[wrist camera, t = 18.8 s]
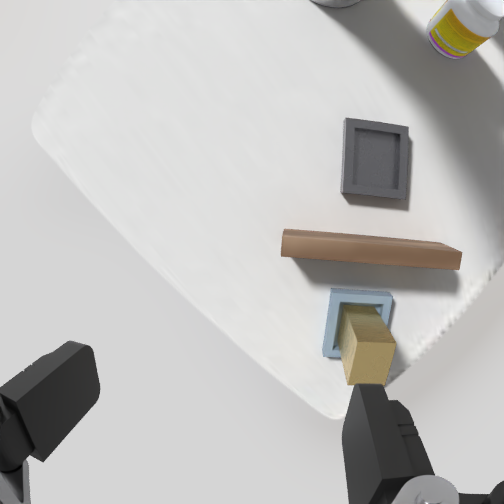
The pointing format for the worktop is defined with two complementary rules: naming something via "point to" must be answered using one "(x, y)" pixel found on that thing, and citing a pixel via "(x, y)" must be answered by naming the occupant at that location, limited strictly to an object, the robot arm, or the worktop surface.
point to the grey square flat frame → (374, 158)
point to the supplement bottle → (464, 25)
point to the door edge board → (368, 249)
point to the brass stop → (365, 345)
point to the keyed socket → (351, 297)
